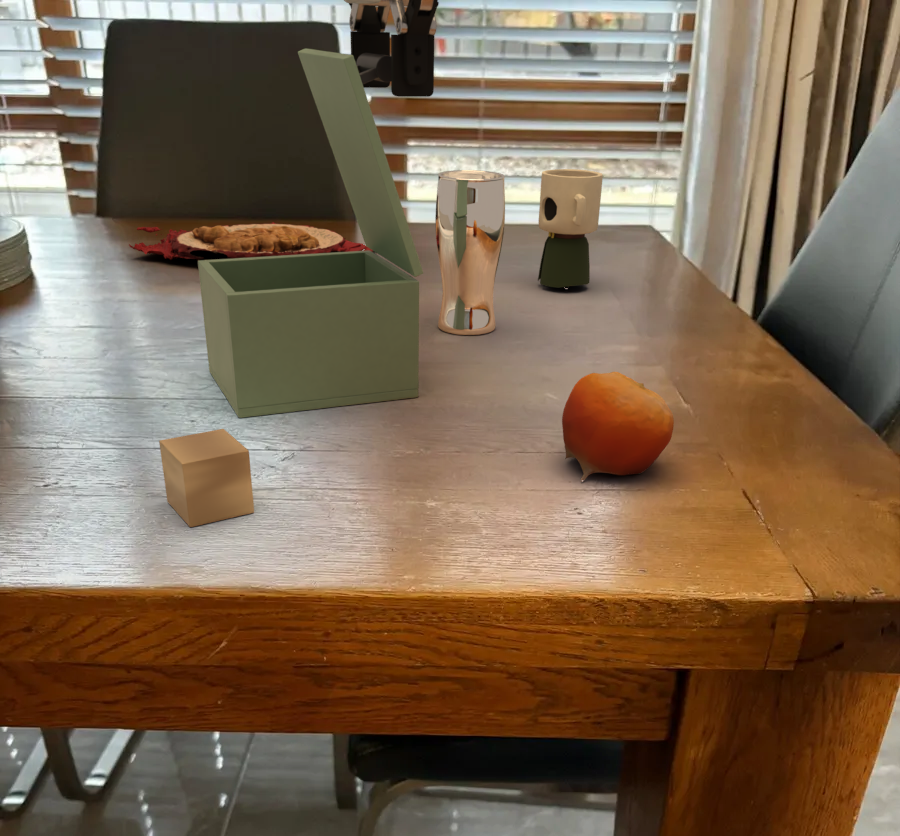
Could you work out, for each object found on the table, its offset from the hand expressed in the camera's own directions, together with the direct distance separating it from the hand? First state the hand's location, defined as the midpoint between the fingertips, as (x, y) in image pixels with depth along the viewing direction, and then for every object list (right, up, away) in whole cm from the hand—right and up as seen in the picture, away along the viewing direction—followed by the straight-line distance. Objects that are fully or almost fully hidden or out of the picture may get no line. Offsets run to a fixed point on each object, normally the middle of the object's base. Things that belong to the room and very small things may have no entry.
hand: (390, 91), depth 77 cm
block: (-11, -34, -12) cm, 38 cm away
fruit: (+17, -31, -5) cm, 35 cm away
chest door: (-3, -5, +2) cm, 6 cm away
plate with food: (-21, +6, +55) cm, 59 cm away
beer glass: (+6, -12, +26) cm, 29 cm away
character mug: (+19, -2, +43) cm, 47 cm away
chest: (-8, -21, +9) cm, 24 cm away
